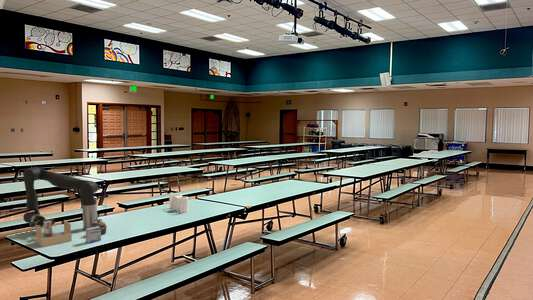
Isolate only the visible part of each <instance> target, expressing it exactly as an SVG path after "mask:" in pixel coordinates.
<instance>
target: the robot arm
mask: <svg viewBox="0 0 533 300" xmlns="http://www.w3.org/2000/svg"><path fill="white" fill-rule="evenodd" d="M22 175H23V176H22V177H23V182H24V188H25V196H26V209H28V210H30V211H27V212H25V213H24V214H23V220H24V222H26V223H27V224H29V227H30V228H36V225H37V226H39V227H40V228H42V227H44V222H45V221H51V222H52V226H53V225H54V224H55V219H53V218H50V219H46V217H44V216H43V215H41V213H40V209H39V197H38V194H37V192H36V190H35V181H37V180H38V181H39V180H41V181H46V182H48V183H49V184H51V185H52V186H54V187H56V188H61V189H67V190H79V194H80V201H81V203H82V209H81V210H82V226H83V227H82V228H83V230H85V229H88V228H91V227H92V223H94V220H99V214H98V206H97V205H98V203H97V202H98V201H97V199H96V198H94V194H95V193H97V192H98V190H99V185H98V183H96V182H95V181H92V180H86V179H80V178H76V177H73V176H70V175H66V174H62V173H57V172H53V171H49V170H46V169H44V168H40V167H37V166H34V167H30V168H27V169H25V170H24V171H23V174H22ZM31 210H32V211H31Z"/></svg>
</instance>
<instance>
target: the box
mask: <svg viewBox="0 0 533 300" xmlns="http://www.w3.org/2000/svg"><path fill="white" fill-rule="evenodd" d="M52 234H53V225H52V222H51V221H45V222H44V226H43V236H44V237H45V238H48V237H52Z"/></svg>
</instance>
